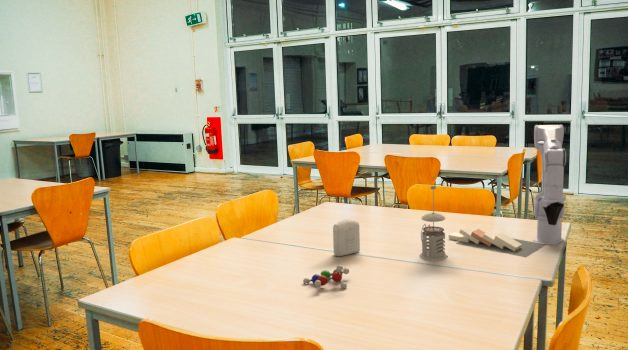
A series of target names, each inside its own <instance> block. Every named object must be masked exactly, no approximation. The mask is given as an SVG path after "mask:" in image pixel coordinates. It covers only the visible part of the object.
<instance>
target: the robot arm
mask: <svg viewBox="0 0 628 350" xmlns="http://www.w3.org/2000/svg"><path fill="white" fill-rule="evenodd" d="M564 134H565V129H564V125H563V124H543V125H542V124H539V125H538V124H535V125H534V129H533V140H534V144H533V145H534V149H535V150H537V151H539V153H540V157H541V191H540V192H539V193H537V194H535V196H534V199H533V216H534V217H536V218H537V226H536V238H535V239H533V240H532V242H536V243H542V244H547V245H552V246H555V245H557V244H559V243H561V241H564V240H565V238H562V229H563V228H562V226H563V224H562V220H561V218H563V217H564V215H565V201H567V194H563V193H564V174H565V171H564V170H565V166H566V164H567V152H566V149H565V148H563V147H562V146H563V141H564Z"/></svg>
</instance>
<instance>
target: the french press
mask: <svg viewBox="0 0 628 350" xmlns="http://www.w3.org/2000/svg"><path fill="white" fill-rule="evenodd" d="M430 190H432V212H429V213H425V214H424V215H422V216H421V220H422V221H424V222H429V223H432V224H433V225H432V226H431V224H428V225H426V223H424V224H423V225H422V227H421V231H420V239H421V253H420V254H419V258H421V259H422V260H425V261H432V262H437V261H438V262H439V261H444V260H447V259H448V258H449V256H448V255H447V253H446V252H445V251H446V248H445V247H446V233H445V232H444V231H445V229H444V227H441V226H435V223H437V222H442V221H444V220H445V219H446V217H445V216H444V215H443V214H441V213H437V212H435V211H434V210H435V208H434V207H435V205H434V203H435V201H434V200H435V199H434V196H435V194H434V191H435V190H437V186H435V185H431V186H430Z"/></svg>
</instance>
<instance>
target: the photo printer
mask: <svg viewBox="0 0 628 350" xmlns="http://www.w3.org/2000/svg"><path fill="white" fill-rule="evenodd" d="M360 238H361V237H360V223H359V221H358V220H356V219H344V220H340V221H338V222H336V223H335V224H333V226H332V239H333V240H332V242H333V243H332V245H333V255H334V256H336V257H341V256H347V255H351V254H355V253H359V252H360V248H361V246H360V243H361V242H360V241H361V240H360Z"/></svg>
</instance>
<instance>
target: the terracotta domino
mask: <svg viewBox="0 0 628 350" xmlns="http://www.w3.org/2000/svg"><path fill="white" fill-rule="evenodd" d="M485 233H486V232H485V231H483V230H481V229H480V228H477V229H475V230H474V231H473V232H472V233H471V236H472V237H474V238H476V239H477V240H479V241H481V242H483V243H484V244H486V245H488V246H489V247H490V246H492V245H494V244H492V243H491V242H489V241H487V240H485V239H484V238H482V237H483V235H484V234H485Z"/></svg>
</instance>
